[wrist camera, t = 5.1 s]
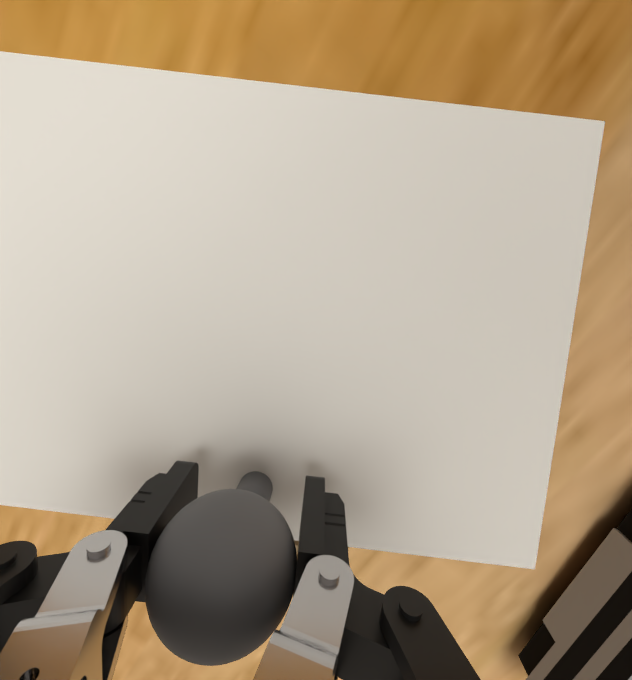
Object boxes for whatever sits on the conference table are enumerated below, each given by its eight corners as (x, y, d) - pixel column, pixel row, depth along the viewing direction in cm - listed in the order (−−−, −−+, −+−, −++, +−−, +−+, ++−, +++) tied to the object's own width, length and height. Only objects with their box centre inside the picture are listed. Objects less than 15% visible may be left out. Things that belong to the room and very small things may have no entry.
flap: (544, 164, 17) (883, -75, 7) (490, 529, 18) (715, 802, 8) (65, 108, 17) (-311, -209, 7) (37, 474, 18) (-331, 673, 8)
